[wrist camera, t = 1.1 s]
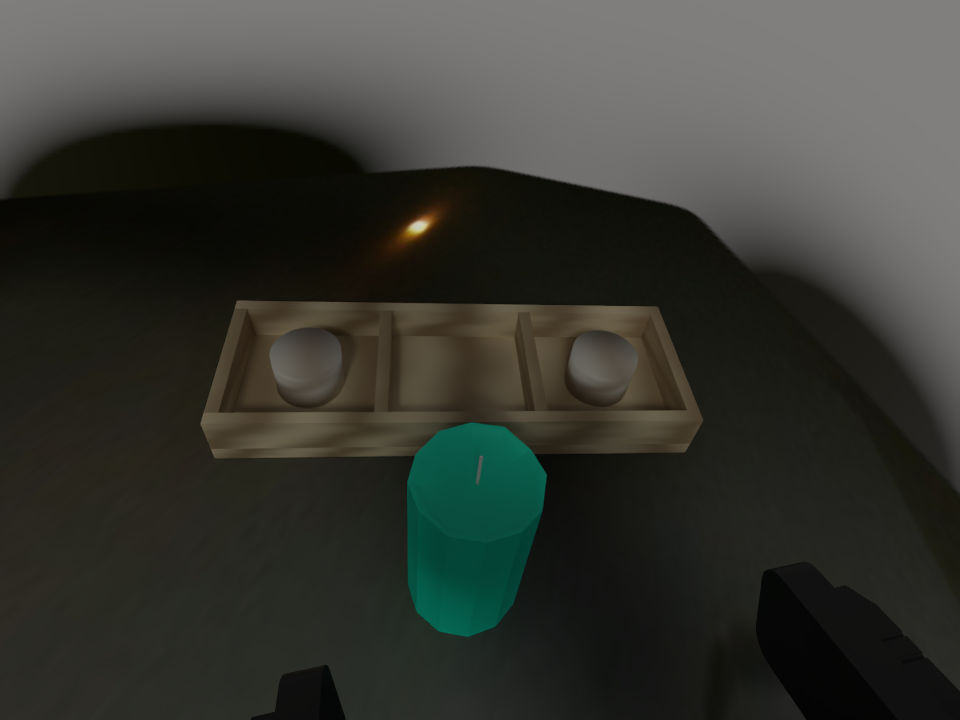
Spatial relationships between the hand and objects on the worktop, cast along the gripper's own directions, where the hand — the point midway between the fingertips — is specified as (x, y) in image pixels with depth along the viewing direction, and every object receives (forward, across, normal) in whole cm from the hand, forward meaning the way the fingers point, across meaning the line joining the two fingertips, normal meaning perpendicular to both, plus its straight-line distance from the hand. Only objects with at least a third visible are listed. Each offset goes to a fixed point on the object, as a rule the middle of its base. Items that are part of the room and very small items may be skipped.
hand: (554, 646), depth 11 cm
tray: (+30, -1, +11) cm, 32 cm away
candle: (+18, +1, +16) cm, 24 cm away
